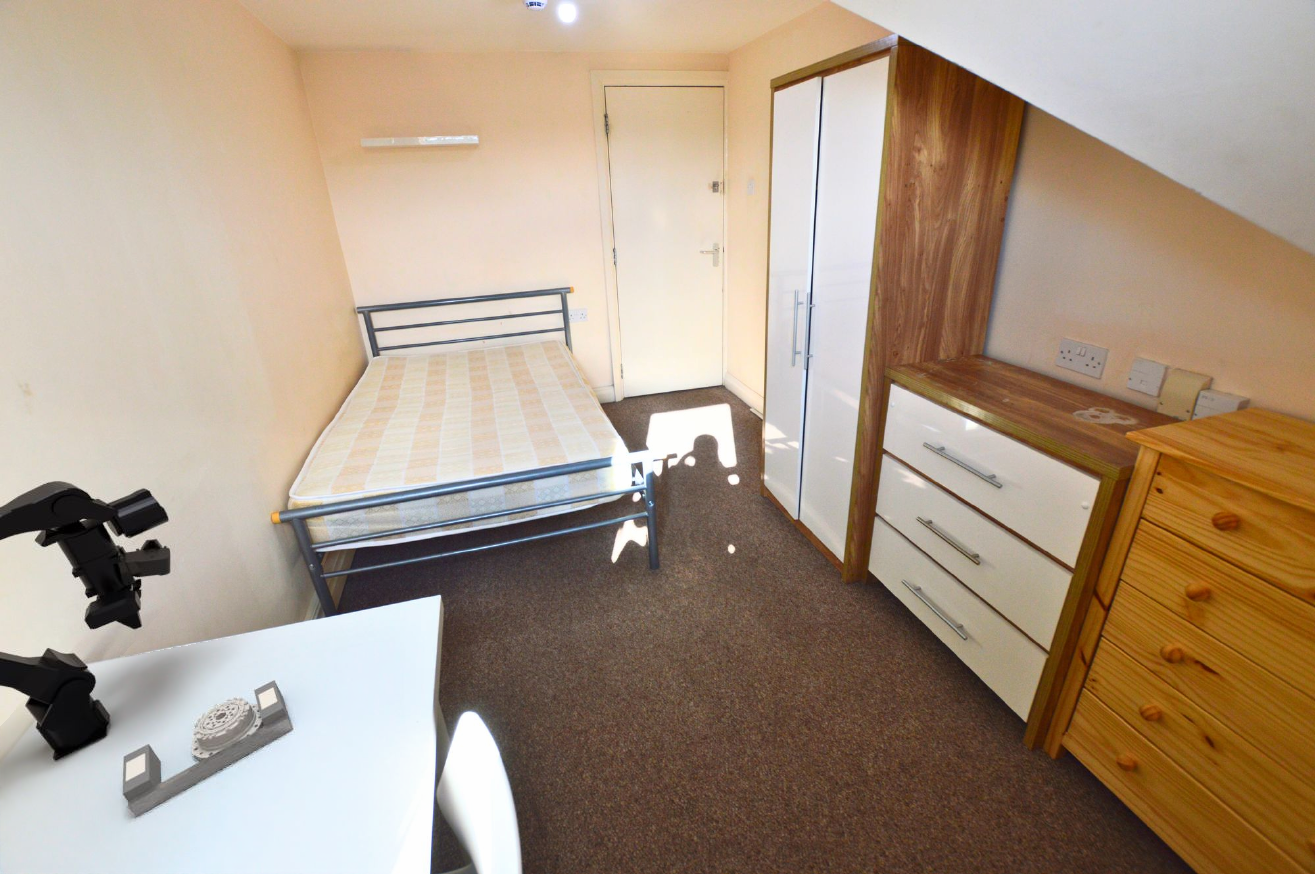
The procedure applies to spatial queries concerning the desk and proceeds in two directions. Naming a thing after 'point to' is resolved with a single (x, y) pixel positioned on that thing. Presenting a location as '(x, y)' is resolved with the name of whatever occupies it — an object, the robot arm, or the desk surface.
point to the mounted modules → (146, 766)
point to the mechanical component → (224, 726)
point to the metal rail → (208, 766)
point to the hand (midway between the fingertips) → (138, 626)
